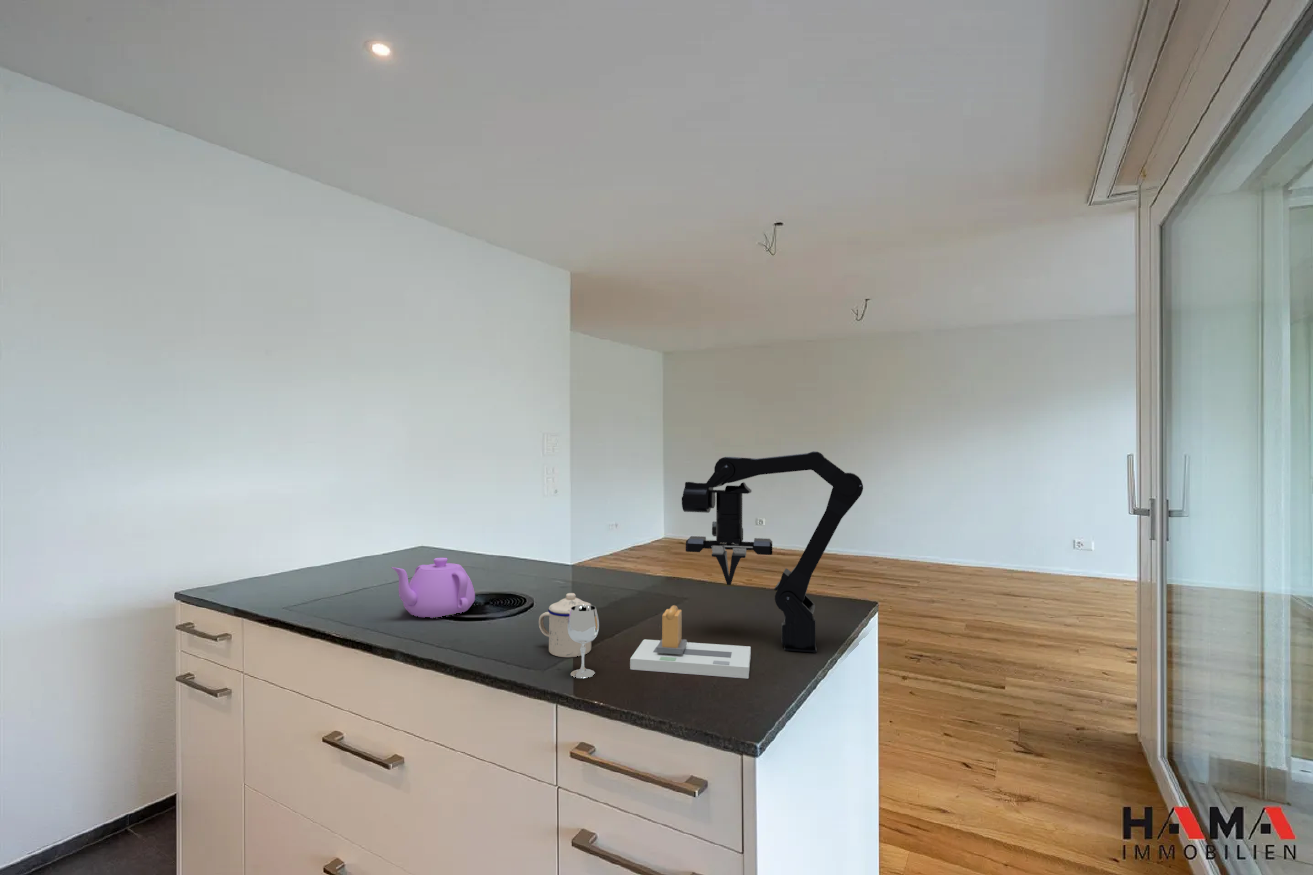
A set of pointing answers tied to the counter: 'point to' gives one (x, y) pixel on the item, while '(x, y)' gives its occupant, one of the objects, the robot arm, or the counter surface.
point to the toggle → (672, 632)
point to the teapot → (436, 589)
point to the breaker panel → (694, 659)
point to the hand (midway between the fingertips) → (729, 584)
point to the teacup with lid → (562, 628)
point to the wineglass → (583, 632)
